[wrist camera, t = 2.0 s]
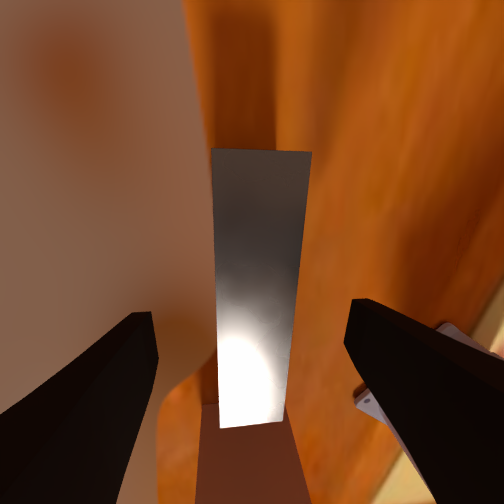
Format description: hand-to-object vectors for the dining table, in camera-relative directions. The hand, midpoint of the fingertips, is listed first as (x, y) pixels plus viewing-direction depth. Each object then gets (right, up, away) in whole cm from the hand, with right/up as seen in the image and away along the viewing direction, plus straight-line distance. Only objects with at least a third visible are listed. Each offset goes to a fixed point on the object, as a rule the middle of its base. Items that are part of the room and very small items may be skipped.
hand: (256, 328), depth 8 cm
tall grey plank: (-1, +2, +5) cm, 6 cm away
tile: (-1, -9, +9) cm, 13 cm away
